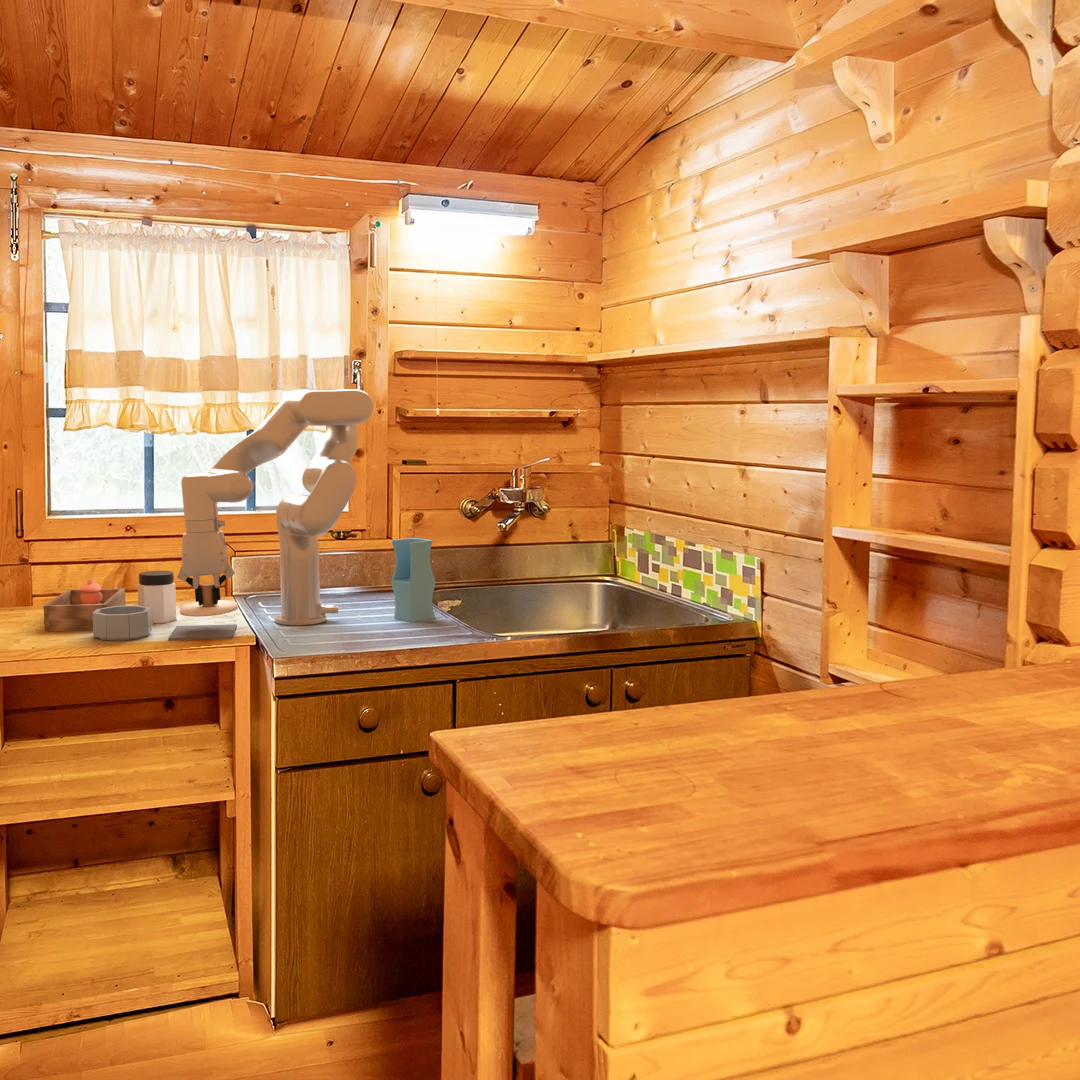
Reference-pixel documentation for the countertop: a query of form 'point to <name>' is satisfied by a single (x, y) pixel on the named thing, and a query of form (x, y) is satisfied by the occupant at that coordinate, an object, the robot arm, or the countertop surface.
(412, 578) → the vase
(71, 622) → the tray
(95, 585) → the pottery
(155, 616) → the jar
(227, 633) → the mat
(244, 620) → the countertop surface
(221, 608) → the lid
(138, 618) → the bowl
